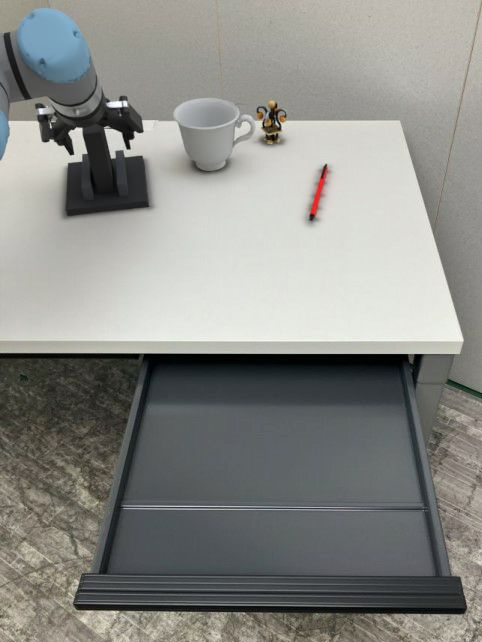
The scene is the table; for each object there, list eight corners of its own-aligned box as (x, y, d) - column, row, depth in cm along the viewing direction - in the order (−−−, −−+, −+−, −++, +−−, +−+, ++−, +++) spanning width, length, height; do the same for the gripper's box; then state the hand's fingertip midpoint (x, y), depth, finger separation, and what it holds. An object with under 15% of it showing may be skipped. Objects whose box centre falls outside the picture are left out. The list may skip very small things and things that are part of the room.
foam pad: (97, 193, 105) (82, 134, 96) (97, 170, 110) (82, 112, 102) (115, 191, 105) (101, 132, 97) (113, 169, 110) (100, 110, 102)
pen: (328, 167, 113) (328, 161, 112) (313, 224, 101) (313, 218, 100) (323, 166, 113) (324, 161, 112) (307, 223, 101) (308, 217, 100)
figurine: (254, 136, 121) (255, 97, 114) (275, 131, 122) (277, 93, 116) (265, 148, 118) (266, 109, 112) (286, 143, 120) (289, 104, 114)
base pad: (67, 215, 102) (61, 196, 100) (69, 168, 113) (64, 150, 110) (148, 206, 104) (145, 187, 101) (143, 161, 115) (140, 142, 112)
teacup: (251, 183, 109) (249, 131, 102) (172, 177, 111) (165, 125, 103) (260, 151, 117) (259, 100, 110) (187, 146, 118) (181, 95, 111)
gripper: (-2, 126, 82) (39, 172, 104) (157, 112, 85) (164, 159, 107) (-11, 71, 82) (32, 129, 104) (149, 58, 85) (157, 117, 107)
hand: (99, 144), depth 106 cm, fingers open, 9 cm apart
